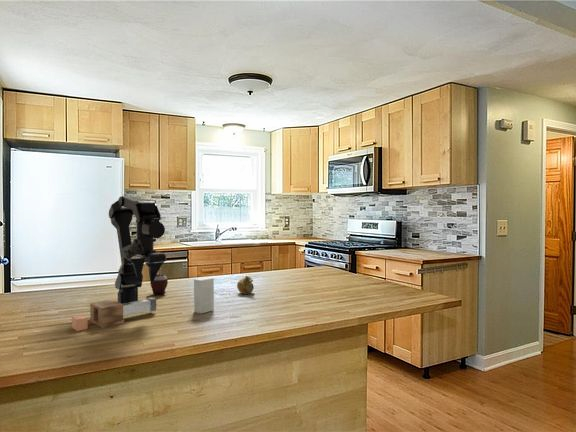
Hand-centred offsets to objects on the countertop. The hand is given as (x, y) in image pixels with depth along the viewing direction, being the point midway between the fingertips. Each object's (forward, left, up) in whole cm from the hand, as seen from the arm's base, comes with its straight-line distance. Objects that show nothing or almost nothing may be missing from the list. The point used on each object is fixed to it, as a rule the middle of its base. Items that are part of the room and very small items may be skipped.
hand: (145, 279), depth 145 cm
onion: (-46, +3, -12) cm, 47 cm away
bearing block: (+15, +3, -12) cm, 19 cm away
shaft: (+7, +3, -11) cm, 13 cm away
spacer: (+22, +3, -10) cm, 24 cm away
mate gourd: (-19, -23, -12) cm, 32 cm away
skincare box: (-16, +14, -12) cm, 24 cm away
